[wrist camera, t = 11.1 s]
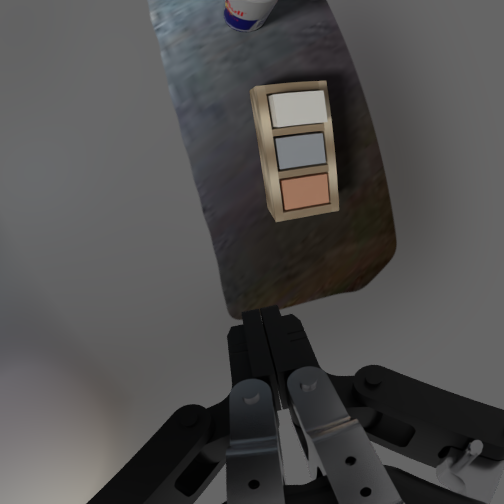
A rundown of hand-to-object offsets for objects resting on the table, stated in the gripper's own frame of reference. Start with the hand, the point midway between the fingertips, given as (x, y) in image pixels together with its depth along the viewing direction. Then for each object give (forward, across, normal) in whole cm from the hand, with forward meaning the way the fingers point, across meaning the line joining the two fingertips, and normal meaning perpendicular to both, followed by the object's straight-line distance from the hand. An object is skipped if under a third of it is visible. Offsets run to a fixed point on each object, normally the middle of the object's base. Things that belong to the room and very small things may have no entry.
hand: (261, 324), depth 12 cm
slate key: (+26, -9, -3) cm, 28 cm away
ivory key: (+25, -9, -8) cm, 27 cm away
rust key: (+27, -9, +2) cm, 28 cm away
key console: (+29, -9, -3) cm, 31 cm away
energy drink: (+29, -6, -22) cm, 37 cm away
